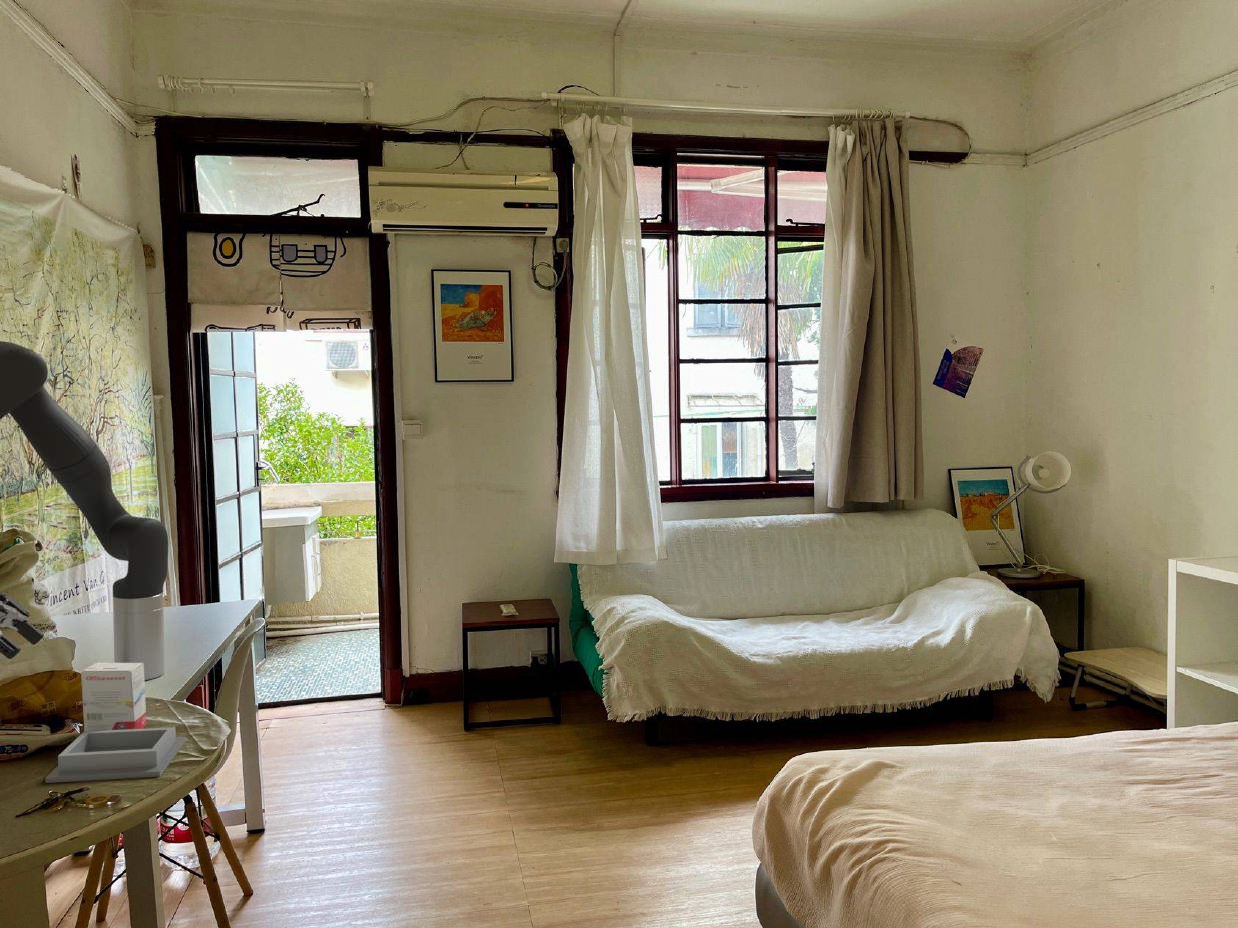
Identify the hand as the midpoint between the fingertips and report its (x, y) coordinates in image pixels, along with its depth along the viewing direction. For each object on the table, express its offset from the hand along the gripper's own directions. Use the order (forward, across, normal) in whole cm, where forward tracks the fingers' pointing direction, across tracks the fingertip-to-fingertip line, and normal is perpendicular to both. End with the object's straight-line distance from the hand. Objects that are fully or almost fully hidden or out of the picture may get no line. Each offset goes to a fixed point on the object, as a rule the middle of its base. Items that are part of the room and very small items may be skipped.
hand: (28, 647), depth 150 cm
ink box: (+20, 0, +2) cm, 21 cm away
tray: (+24, -13, -2) cm, 27 cm away
